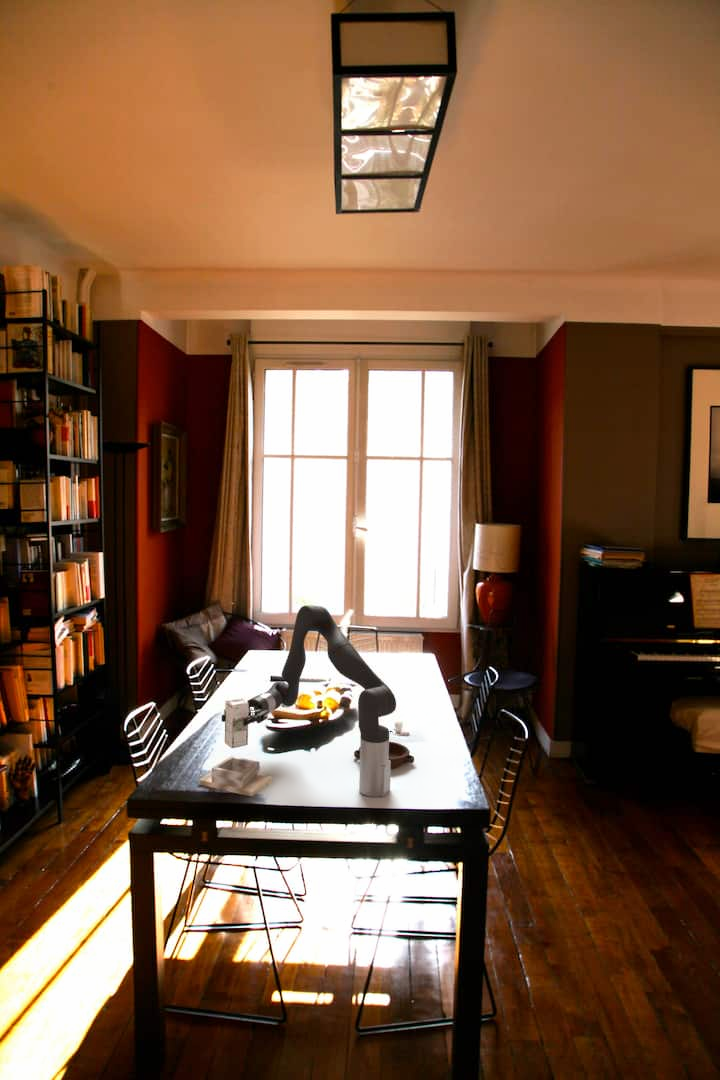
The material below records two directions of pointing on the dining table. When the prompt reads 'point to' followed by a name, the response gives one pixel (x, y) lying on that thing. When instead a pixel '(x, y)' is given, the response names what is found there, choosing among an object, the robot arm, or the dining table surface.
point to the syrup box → (236, 722)
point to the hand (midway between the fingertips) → (233, 720)
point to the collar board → (236, 776)
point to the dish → (395, 754)
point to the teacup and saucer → (400, 728)
